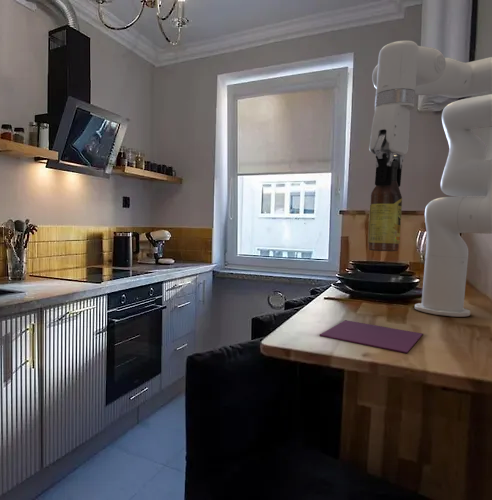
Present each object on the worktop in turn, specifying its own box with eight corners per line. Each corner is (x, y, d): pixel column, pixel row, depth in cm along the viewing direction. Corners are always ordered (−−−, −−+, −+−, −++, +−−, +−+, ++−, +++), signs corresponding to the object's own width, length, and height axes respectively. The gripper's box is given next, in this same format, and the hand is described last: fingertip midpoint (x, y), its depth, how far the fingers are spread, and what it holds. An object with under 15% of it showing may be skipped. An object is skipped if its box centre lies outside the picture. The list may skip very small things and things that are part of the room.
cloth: (345, 321, 103) (345, 320, 103) (422, 334, 93) (422, 333, 93) (319, 335, 90) (319, 334, 90) (406, 353, 79) (407, 352, 79)
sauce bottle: (403, 252, 92) (410, 160, 90) (372, 251, 93) (378, 160, 91) (392, 250, 98) (398, 163, 96) (363, 249, 100) (369, 163, 98)
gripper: (390, 112, 101) (384, 189, 103) (360, 97, 90) (353, 184, 92) (426, 107, 96) (419, 188, 97) (398, 90, 85) (391, 182, 86)
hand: (387, 185), depth 94 cm, fingers closed on sauce bottle, 4 cm apart
